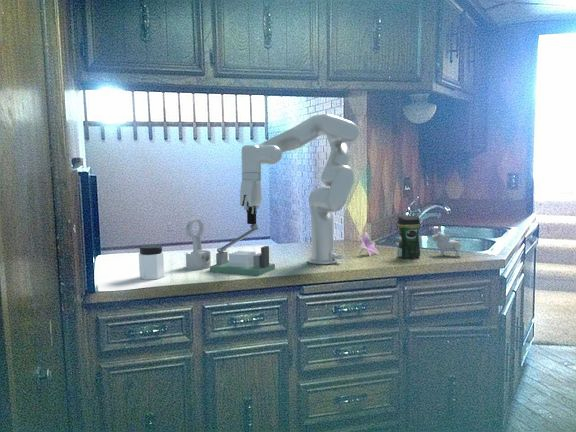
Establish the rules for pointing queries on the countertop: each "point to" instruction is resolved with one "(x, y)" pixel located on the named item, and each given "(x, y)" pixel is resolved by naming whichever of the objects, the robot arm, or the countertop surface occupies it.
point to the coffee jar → (408, 237)
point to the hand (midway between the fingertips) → (251, 223)
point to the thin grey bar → (239, 238)
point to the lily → (368, 244)
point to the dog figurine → (446, 243)
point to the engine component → (197, 249)
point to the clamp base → (241, 270)
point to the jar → (151, 262)
